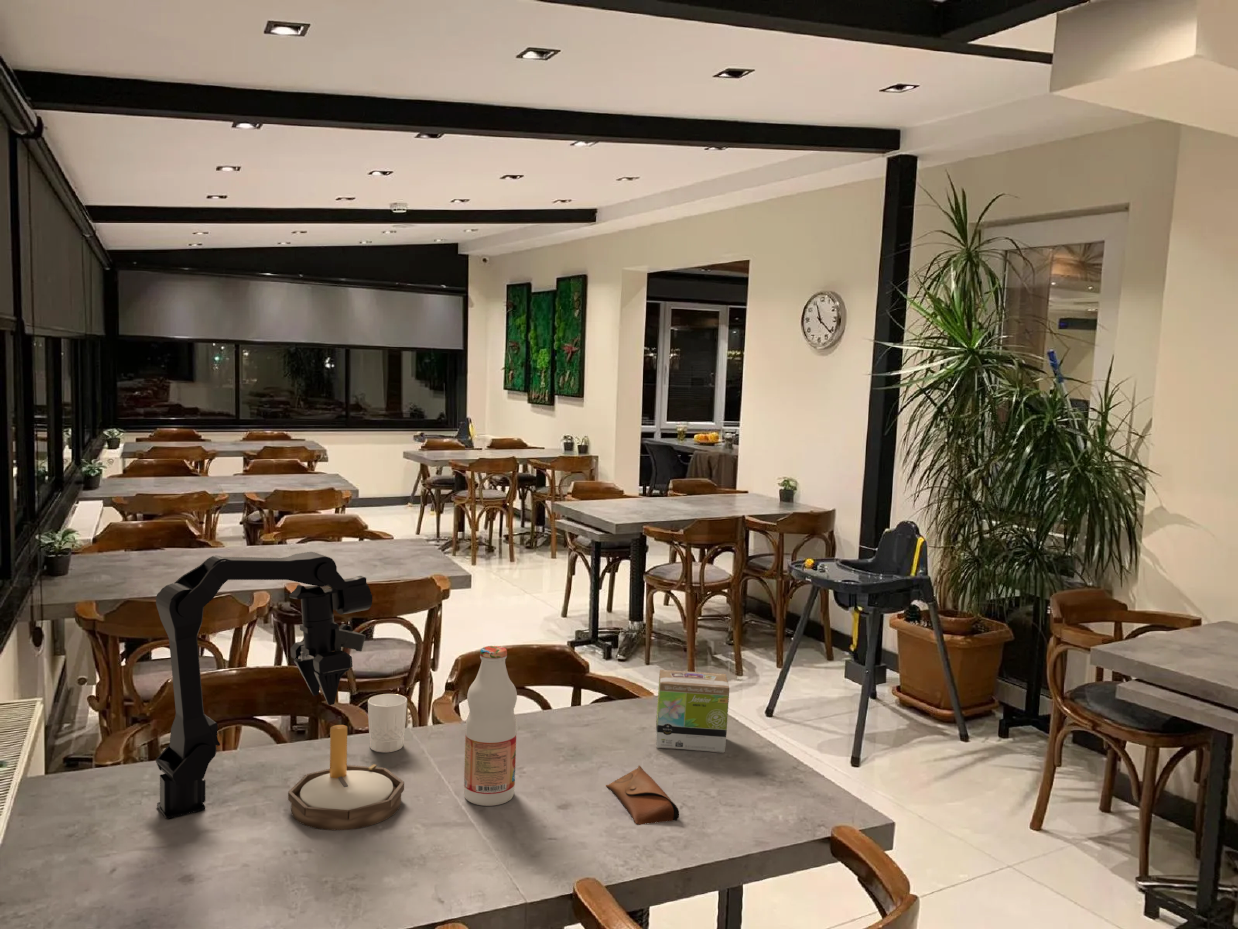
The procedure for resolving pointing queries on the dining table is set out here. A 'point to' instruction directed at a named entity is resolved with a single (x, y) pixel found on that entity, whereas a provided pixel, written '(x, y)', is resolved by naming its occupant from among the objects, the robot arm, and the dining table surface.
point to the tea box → (692, 711)
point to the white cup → (387, 722)
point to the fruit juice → (490, 732)
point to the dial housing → (345, 818)
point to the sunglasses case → (644, 798)
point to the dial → (344, 781)
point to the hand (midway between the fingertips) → (323, 699)
